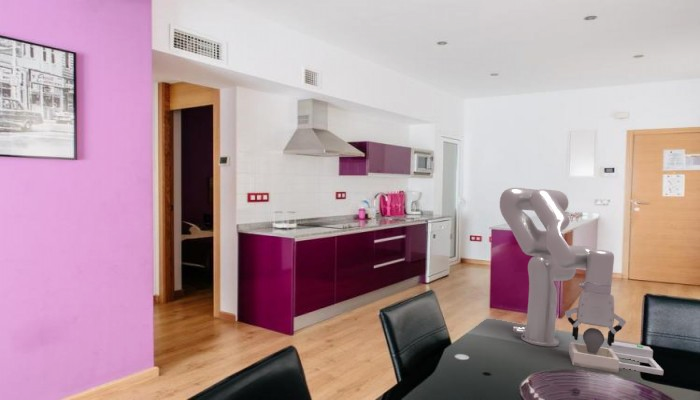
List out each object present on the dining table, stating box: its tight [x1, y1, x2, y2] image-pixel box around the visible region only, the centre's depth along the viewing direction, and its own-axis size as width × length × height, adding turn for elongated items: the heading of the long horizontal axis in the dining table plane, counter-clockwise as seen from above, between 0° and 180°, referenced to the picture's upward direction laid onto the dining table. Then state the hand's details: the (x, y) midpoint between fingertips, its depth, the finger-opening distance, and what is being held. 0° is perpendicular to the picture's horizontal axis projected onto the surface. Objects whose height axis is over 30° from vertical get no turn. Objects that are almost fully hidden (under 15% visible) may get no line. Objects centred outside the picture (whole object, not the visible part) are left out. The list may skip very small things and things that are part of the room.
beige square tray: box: [568, 341, 620, 374], centre depth 147 cm, size 12×12×4 cm
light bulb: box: [582, 327, 605, 355], centre depth 147 cm, size 6×6×10 cm
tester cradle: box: [606, 340, 664, 376], centre depth 150 cm, size 12×17×5 cm
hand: (592, 341), depth 147 cm, fingers open, 9 cm apart
